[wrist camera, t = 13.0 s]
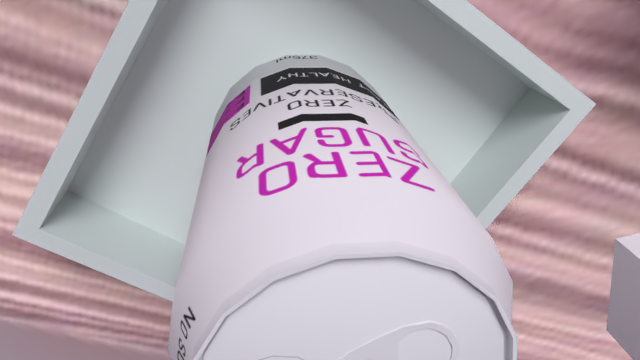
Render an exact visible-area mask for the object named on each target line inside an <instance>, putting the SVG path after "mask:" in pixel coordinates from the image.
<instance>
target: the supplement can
mask: <svg viewBox="0 0 640 360" xmlns="http://www.w3.org/2000/svg"><path fill="white" fill-rule="evenodd" d="M512 295H513V282H512V280H511V277H510V275H509V273H508V271H507V269H506V267H505V264H504V262H503V260H502V258H501V256H500V254H499V251H498V249H497V247H496V245H495V243H494V241H493V239H492V237H491V236H490V235H489V233H488V232H487V231H486V230H485V228H484V227H483V226H482V225H481V223H480V222H479V221H478V219H477V218H476V217H475V216H474V214H473V213H472V212H471V211H470V209H469V208H468V207H467V205H466V204H465V203H464V202H463V200H462V199H461V198H460V197H459V195H458V194H457V193H456V191H455V190H454V189H453V188H452V186H451V185H450V184H449V182H448V181H447V180H446V179H445V177H444V176H443V175H442V174H441V172H440V171H439V170H438V168H437V167H436V166H435V165H434V163H433V162H432V161H431V160H430V158H429V157H428V156H427V154H426V153H425V152H424V151H423V149H422V148H421V147H420V146H419V144H418V143H417V142H416V140H415V139H414V138H413V137H412V135H411V134H410V133H409V132H408V130H407V129H406V128H405V126H404V125H403V124H402V123H401V121H400V120H399V119H398V118H397V116H396V115H395V114H394V112H393V111H392V110H391V109H390V107H389V106H388V105H387V104H386V102H385V101H384V100H383V98H382V97H381V96H380V95H379V93H378V92H377V91H376V90H375V88H374V87H373V86H372V85H371V84H370V83H369V82H367V81H366V80H365V79H364V78H363V77H362V76H361V75H359V74H358V73H357V72H356V71H355V70H354V69H353V68H352V67H350V66H348V65H345V64H343V63H340V62H337V61H335V60H332V59H329V58H327V57H324V56H321V55H285V56H282V57H280V58H277V59H274V60H272V61H269V62H266V63H263V64H261V65H258V66H255V67H254V68H253V69H252V70H251V71H249V72H248V73H247V74H246V75H245V76H244V77H242V78H241V79H240V80H239V81H238V82H237V83H235V84H234V85H233V86H232V87H231V88H230V90H229V91H228V93H227V95H226V97H225V99H224V101H223V103H222V104H221V106H220V108H219V110H218V112H217V114H216V116H215V120H214V124H213V129H212V133H211V137H210V142H209V146H208V150H207V155H206V159H205V163H204V168H203V172H202V176H201V180H200V185H199V189H198V193H197V198H196V202H195V206H194V211H193V215H192V219H191V224H190V228H189V232H188V236H187V241H186V245H185V249H184V254H183V258H182V262H181V267H180V271H179V275H178V280H177V284H176V288H175V293H174V297H173V301H172V312H171V323H170V333H169V344H168V353H169V355H170V358H171V360H517V336H516V334H515V332H514V329H513V327H512Z"/></svg>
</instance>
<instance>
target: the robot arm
mask: <svg viewBox="0 0 640 360" xmlns="http://www.w3.org/2000/svg"><path fill="white" fill-rule="evenodd" d="M606 330H607V331H608V332H609V333H610V334H611V335H612V336H613V338H614V339H615V340H616V341H617V342H618V343H619V344H620V345H621V346H622V348H623V349H624V350H625V351H626V352H627V353H628V354H629V355H630V357H631V358H632V359H633V360H640V233H638V234H634V235H629V236H625V237H621V238H617V239H616V240H615V250H614V260H613V270H612V280H611V290H610V300H609V309H608V319H607V329H606Z"/></svg>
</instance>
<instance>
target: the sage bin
mask: <svg viewBox="0 0 640 360" xmlns="http://www.w3.org/2000/svg"><path fill="white" fill-rule="evenodd" d="M285 55H321V56H324V57H327V58H329V59H332V60H335V61H337V62H340V63H343V64H345V65H348V66H350V67H352V68H353V69H354V70H355V71H356V72H357V73H358V74H359V75H361V76H362V77H363V78H364V79H365V80H366V81H367V82H369V83H370V84H371V85H372V86H373V87H374V88H375V90H376V91H377V92H378V93H379V95H380V96H381V97H382V98H383V100H384V101H385V102H386V104H387V105H388V106H389V107H390V109H391V110H392V111H393V112H394V114H395V115H396V116H397V118H398V119H399V120H400V121H401V123H402V124H403V125H404V126H405V128H406V129H407V130H408V132H409V133H410V134H411V135H412V137H413V138H414V139H415V140H416V142H417V143H418V144H419V146H420V147H421V148H422V149H423V151H424V152H425V153H426V154H427V156H428V157H429V158H430V160H431V161H432V162H433V163H434V165H435V166H436V167H437V168H438V170H439V171H440V172H441V174H442V175H443V176H444V177H445V179H446V180H447V181H448V182H449V184H450V185H451V186H452V188H453V189H454V190H455V191H456V193H457V194H458V195H459V197H460V198H461V199H462V200H463V202H464V203H465V204H466V205H467V207H468V208H469V209H470V211H471V212H472V213H473V214H474V216H475V217H476V218H477V219H478V221H479V222H480V223H481V225H482V226H483V227H484V228H485V229H486V228H487V227H488V226H489V225H490V224H491V223H492V221H493V220H494V219H495V218H496V217H497V216H498V215H499V214H500V212H501V211H502V210H503V209H504V208H505V207H506V206H507V205H508V203H509V202H510V201H511V200H512V199H513V198H514V197H515V195H516V194H517V193H518V192H519V191H520V190H521V189H522V188H523V186H524V185H525V184H526V183H527V182H528V181H529V180H530V178H531V177H532V176H533V175H534V174H535V173H536V172H537V171H538V169H539V168H540V167H541V166H542V165H543V164H544V163H545V161H546V160H547V159H548V158H549V157H550V156H551V155H552V154H553V152H554V151H555V150H556V149H557V148H558V147H559V146H560V144H561V143H562V142H563V141H564V140H565V139H566V138H567V137H568V135H569V134H570V133H571V132H572V131H573V130H574V129H575V127H576V126H577V125H578V124H579V123H580V122H581V121H582V120H583V118H584V117H585V116H586V115H587V114H588V113H589V112H590V111H591V109H592V108H593V107H594V106H595V105H596V103H594V102H593V101H592V100H591V99H589V98H588V97H587V96H586V95H584V94H583V93H582V92H581V91H579V90H578V89H577V88H576V87H574V86H573V85H572V84H571V83H569V82H568V81H567V80H566V79H564V78H563V77H562V76H561V75H559V74H558V73H557V72H556V71H554V70H553V69H552V68H550V67H549V66H548V65H547V64H545V63H544V62H543V61H542V60H540V59H539V58H538V57H537V56H535V55H534V54H533V53H532V52H530V51H529V50H528V49H527V48H525V47H524V46H523V45H522V44H520V43H519V42H518V41H517V40H515V39H514V38H513V37H512V36H510V35H509V34H508V33H507V32H505V31H504V30H503V29H502V28H500V27H499V26H498V25H497V24H495V23H494V22H493V21H492V20H490V19H489V18H488V17H487V16H485V15H484V14H483V13H481V12H480V11H479V10H478V9H476V8H475V7H474V6H473V5H471V4H470V3H469V2H468V1H466V0H129V2H128V4H127V6H126V8H125V10H124V12H123V14H122V16H121V18H120V20H119V22H118V24H117V26H116V28H115V30H114V32H113V34H112V36H111V38H110V40H109V42H108V44H107V46H106V48H105V50H104V52H103V54H102V56H101V58H100V60H99V62H98V64H97V66H96V68H95V70H94V72H93V74H92V76H91V78H90V80H89V82H88V84H87V86H86V88H85V90H84V92H83V94H82V96H81V98H80V100H79V102H78V104H77V106H76V108H75V110H74V112H73V114H72V116H71V118H70V120H69V122H68V124H67V126H66V128H65V130H64V132H63V134H62V136H61V138H60V140H59V142H58V144H57V146H56V148H55V150H54V152H53V154H52V156H51V158H50V160H49V162H48V164H47V166H46V168H45V170H44V172H43V174H42V176H41V178H40V180H39V182H38V184H37V186H36V188H35V190H34V192H33V194H32V196H31V198H30V200H29V202H28V204H27V206H26V208H25V210H24V212H23V214H22V216H21V218H20V220H19V222H18V224H17V226H16V228H15V230H14V232H13V234H12V235H13V236H15V237H18V238H20V239H23V240H25V241H27V242H30V243H32V244H35V245H37V246H39V247H42V248H44V249H47V250H49V251H51V252H54V253H56V254H59V255H61V256H63V257H66V258H68V259H71V260H73V261H75V262H78V263H80V264H83V265H85V266H87V267H90V268H92V269H95V270H97V271H99V272H102V273H104V274H107V275H109V276H111V277H114V278H116V279H119V280H121V281H123V282H126V283H128V284H131V285H133V286H135V287H138V288H140V289H143V290H145V291H147V292H150V293H152V294H155V295H157V296H159V297H162V298H164V299H167V300H169V301H171V302H172V301H173V297H174V293H175V288H176V284H177V280H178V275H179V271H180V267H181V262H182V258H183V254H184V249H185V245H186V241H187V236H188V232H189V228H190V224H191V219H192V215H193V211H194V206H195V202H196V198H197V193H198V189H199V185H200V180H201V176H202V172H203V168H204V163H205V159H206V155H207V150H208V146H209V142H210V137H211V133H212V129H213V124H214V120H215V116H216V114H217V112H218V110H219V108H220V106H221V104H222V103H223V101H224V99H225V97H226V95H227V93H228V91H229V90H230V88H231V87H232V86H233V85H234V84H235V83H237V82H238V81H239V80H240V79H241V78H242V77H244V76H245V75H246V74H247V73H248V72H249V71H251V70H252V69H253V68H254V67H255V66H258V65H261V64H263V63H266V62H269V61H272V60H274V59H277V58H280V57H282V56H285Z"/></svg>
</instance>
